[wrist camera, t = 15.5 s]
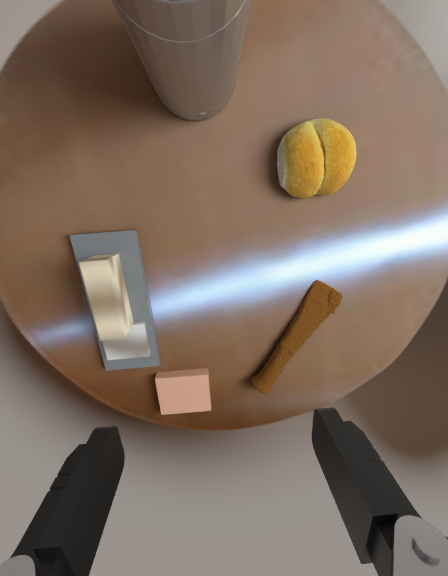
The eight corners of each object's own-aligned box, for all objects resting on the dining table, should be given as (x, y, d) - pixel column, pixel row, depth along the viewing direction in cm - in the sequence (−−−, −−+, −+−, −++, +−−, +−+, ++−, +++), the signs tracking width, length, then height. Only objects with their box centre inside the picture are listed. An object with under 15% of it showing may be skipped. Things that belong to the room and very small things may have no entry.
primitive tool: (314, 277, 35) (325, 285, 32) (343, 294, 36) (357, 303, 33) (246, 376, 40) (249, 392, 37) (273, 388, 41) (279, 404, 38)
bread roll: (347, 191, 31) (366, 189, 28) (278, 202, 31) (287, 201, 28) (348, 116, 29) (369, 103, 25) (273, 128, 29) (282, 116, 25)
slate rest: (73, 234, 31) (69, 235, 30) (136, 229, 31) (134, 230, 30) (108, 366, 38) (106, 370, 37) (160, 361, 38) (159, 365, 37)
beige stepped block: (82, 256, 31) (65, 263, 27) (130, 252, 31) (119, 258, 27) (109, 357, 36) (97, 375, 32) (150, 353, 36) (143, 370, 32)
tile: (155, 378, 37) (161, 414, 39) (207, 374, 37) (211, 410, 39) (157, 370, 39) (163, 405, 41) (208, 366, 39) (211, 401, 41)
